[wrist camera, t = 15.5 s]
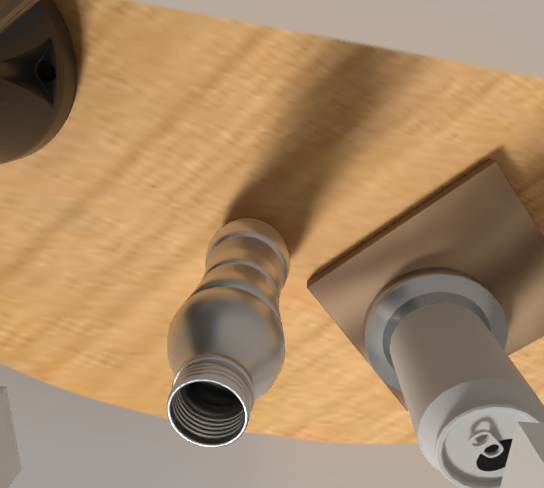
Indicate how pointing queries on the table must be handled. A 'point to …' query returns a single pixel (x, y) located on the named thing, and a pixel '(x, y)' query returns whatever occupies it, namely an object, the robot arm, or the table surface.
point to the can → (461, 393)
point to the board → (448, 257)
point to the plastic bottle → (228, 334)
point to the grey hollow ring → (419, 292)
